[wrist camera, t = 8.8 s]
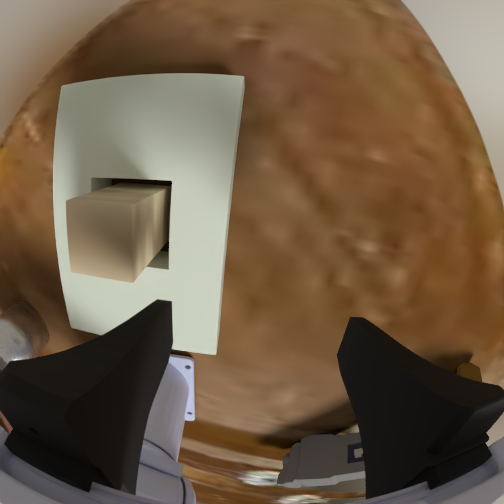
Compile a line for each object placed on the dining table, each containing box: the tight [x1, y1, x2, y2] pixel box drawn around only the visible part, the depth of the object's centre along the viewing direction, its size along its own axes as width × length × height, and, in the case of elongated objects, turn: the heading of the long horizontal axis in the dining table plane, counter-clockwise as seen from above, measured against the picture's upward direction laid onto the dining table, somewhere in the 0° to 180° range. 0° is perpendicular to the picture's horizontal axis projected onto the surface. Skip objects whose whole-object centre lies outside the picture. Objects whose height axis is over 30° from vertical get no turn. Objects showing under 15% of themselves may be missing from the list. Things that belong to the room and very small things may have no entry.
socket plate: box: [53, 73, 245, 355], centre depth 17 cm, size 18×12×3 cm, turn 173°
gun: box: [277, 363, 482, 488], centre depth 24 cm, size 3×25×15 cm, turn 116°
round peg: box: [0, 301, 49, 371], centre depth 19 cm, size 6×6×6 cm
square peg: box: [66, 183, 172, 283], centre depth 15 cm, size 4×4×7 cm
